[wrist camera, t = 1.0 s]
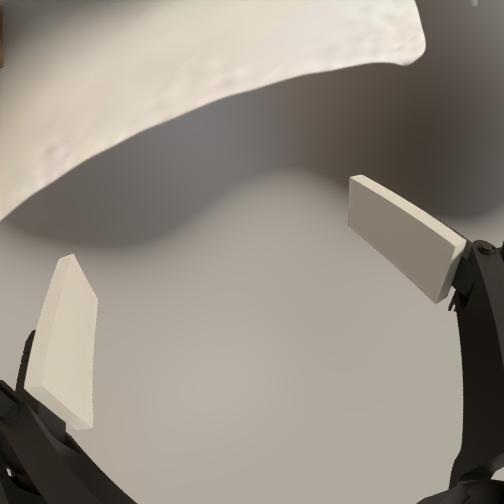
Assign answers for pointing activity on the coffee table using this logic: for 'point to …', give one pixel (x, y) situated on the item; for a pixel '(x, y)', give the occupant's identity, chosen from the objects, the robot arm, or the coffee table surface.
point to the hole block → (0, 56)
